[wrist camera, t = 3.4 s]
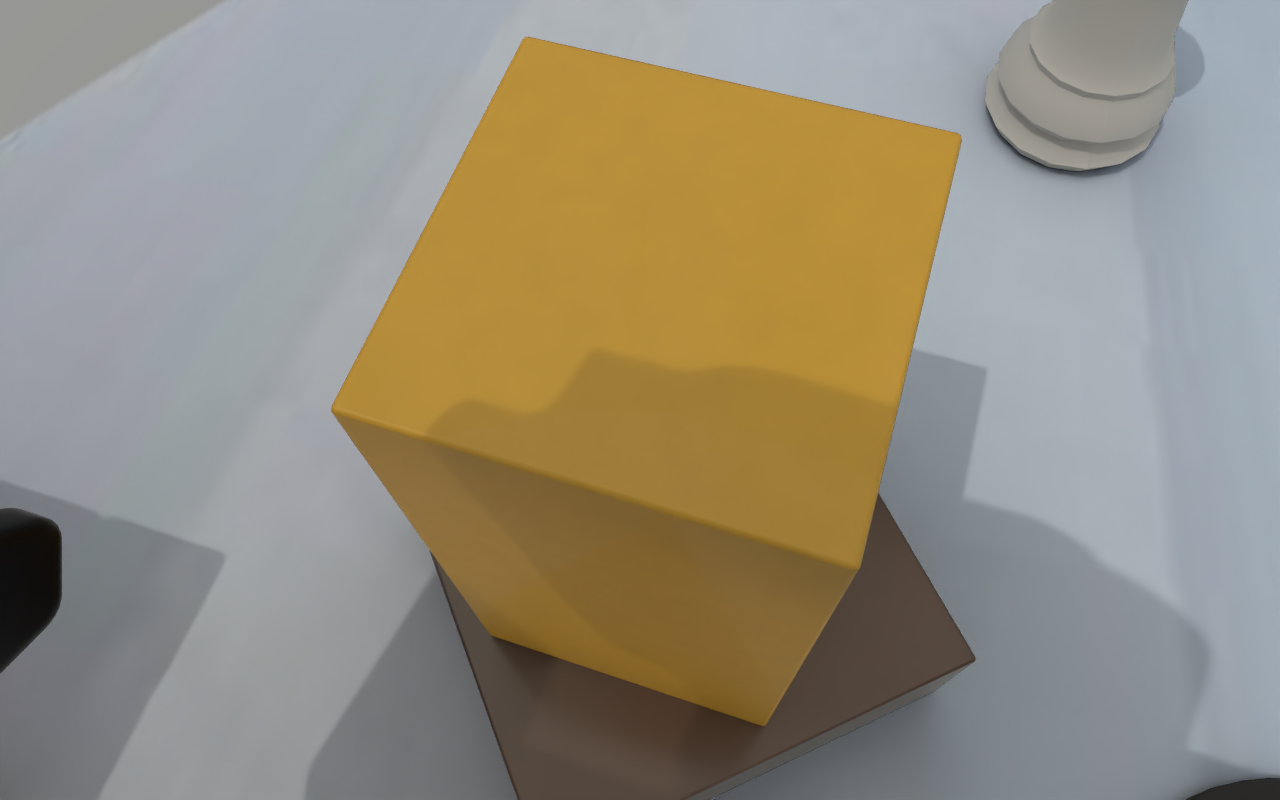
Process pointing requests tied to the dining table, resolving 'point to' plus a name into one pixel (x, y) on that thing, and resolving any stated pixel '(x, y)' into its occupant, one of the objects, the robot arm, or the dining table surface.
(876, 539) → the walnut block
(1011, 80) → the rook chess piece
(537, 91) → the ochre block
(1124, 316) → the dining table surface
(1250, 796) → the rubber mat
